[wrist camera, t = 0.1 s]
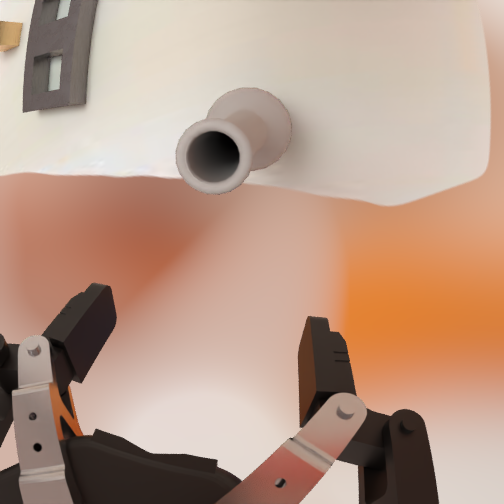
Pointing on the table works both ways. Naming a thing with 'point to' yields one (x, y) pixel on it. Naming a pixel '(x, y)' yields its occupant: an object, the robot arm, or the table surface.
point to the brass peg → (9, 35)
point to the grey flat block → (58, 43)
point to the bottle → (233, 140)
